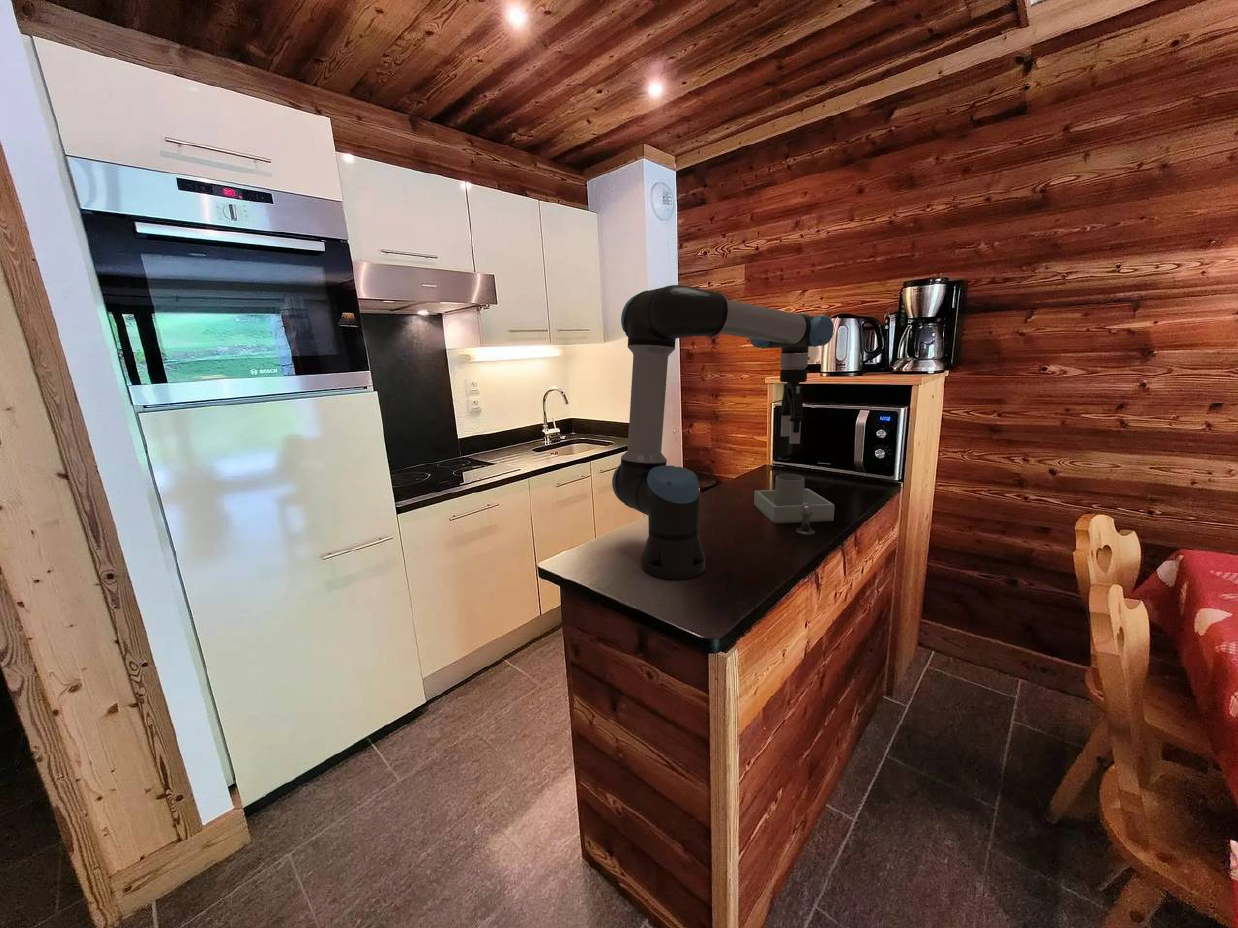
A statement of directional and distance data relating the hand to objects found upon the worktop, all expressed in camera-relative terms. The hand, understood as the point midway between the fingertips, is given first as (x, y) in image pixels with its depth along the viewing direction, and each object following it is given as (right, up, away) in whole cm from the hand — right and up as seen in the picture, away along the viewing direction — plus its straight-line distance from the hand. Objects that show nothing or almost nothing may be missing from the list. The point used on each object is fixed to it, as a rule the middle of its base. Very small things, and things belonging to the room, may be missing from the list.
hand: (789, 439), depth 146 cm
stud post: (0, -26, -12) cm, 29 cm away
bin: (+2, -23, +5) cm, 23 cm away
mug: (+3, -22, +6) cm, 23 cm away
